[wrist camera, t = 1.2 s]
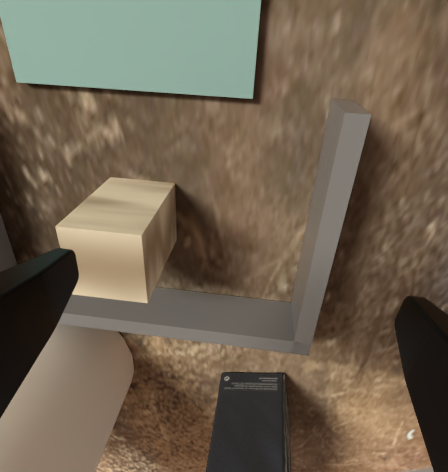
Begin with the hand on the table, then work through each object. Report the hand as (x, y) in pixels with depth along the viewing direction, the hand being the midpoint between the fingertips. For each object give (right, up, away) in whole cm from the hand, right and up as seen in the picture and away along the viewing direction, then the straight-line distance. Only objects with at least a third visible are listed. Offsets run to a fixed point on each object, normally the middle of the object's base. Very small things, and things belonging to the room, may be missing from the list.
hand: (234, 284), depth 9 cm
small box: (+3, -16, +25) cm, 30 cm away
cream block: (-6, +3, +15) cm, 16 cm away
